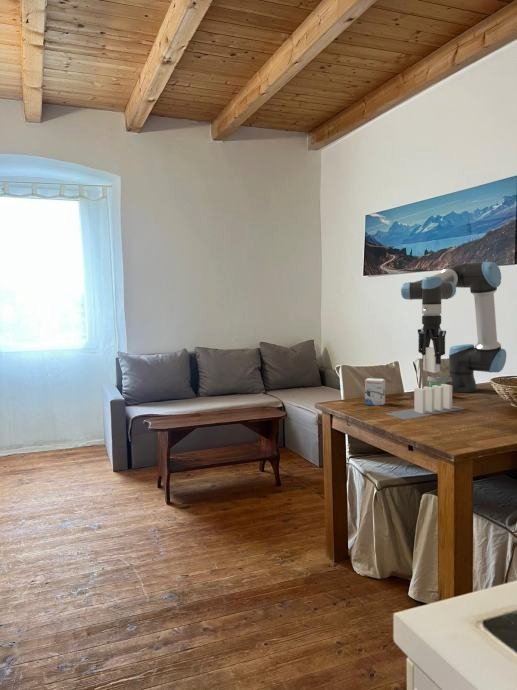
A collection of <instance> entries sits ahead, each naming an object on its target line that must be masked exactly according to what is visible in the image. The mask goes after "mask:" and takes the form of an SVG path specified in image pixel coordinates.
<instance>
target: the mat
mask: <svg viewBox="0 0 517 690" xmlns="http://www.w3.org/2000/svg"><path fill="white" fill-rule="evenodd" d="M460 410H461V411H462V410H466V408H464V407H461V406H457V405H456V406H455V405H453V404H452V408H451V409H448V408H444V407H443V410H437V409H435V411H434V412H430V411H427V410H426V413H419V412H416V411H414V408H410V409H409V408H408V409H403V410H397V411H392V412H385V413H384V414H385V415H388V416H391V417H393V418H394V417H395V418H397V419H401V420H403V421H404V420H405V421H406V420H409V419H415V418H420V417H426V416H427V417H428V416H432V415H437V414H443V413H449V412H453V411H454V412H456V411H460Z"/></svg>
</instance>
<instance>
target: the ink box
mask: <svg viewBox="0 0 517 690" xmlns="http://www.w3.org/2000/svg"><path fill="white" fill-rule="evenodd" d="M364 405H365V406H366V405H367V406H381V405H382V406H383V405H386V379H385V378H373V377H372V378H369V377H368V378H366V379H364Z"/></svg>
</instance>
